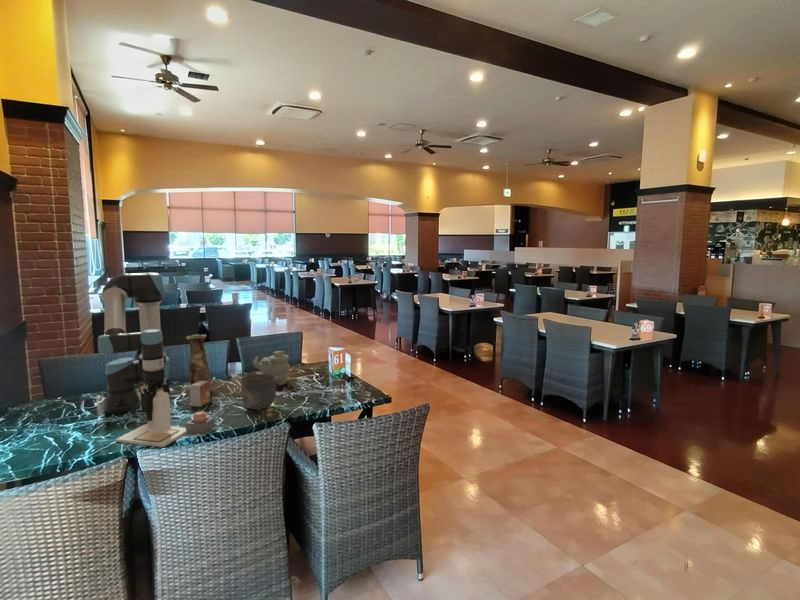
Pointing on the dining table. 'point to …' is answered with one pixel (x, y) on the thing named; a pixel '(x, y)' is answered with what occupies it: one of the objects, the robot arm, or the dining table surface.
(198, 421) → the button
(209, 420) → the button housing
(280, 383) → the teapot
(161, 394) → the potion bottle
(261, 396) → the cup
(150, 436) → the colouring board
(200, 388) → the small box
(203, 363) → the vase
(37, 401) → the dining table surface
